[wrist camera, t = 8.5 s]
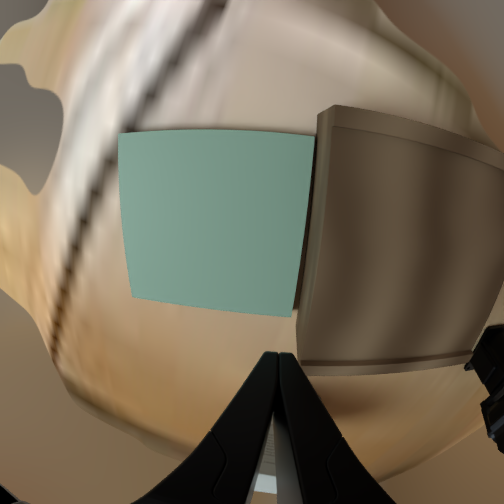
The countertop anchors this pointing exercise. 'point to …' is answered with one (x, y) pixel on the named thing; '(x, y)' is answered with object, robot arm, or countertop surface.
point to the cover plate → (215, 216)
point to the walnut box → (398, 246)
